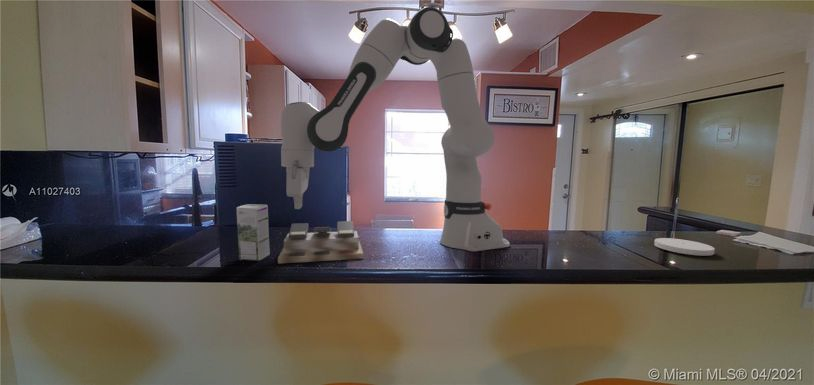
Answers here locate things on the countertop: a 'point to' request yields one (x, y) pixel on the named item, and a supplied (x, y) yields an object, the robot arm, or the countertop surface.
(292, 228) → the switch
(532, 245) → the countertop surface
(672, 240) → the plastic lid
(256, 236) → the syrup box
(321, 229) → the switch middle
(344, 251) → the switch unit
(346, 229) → the switch
